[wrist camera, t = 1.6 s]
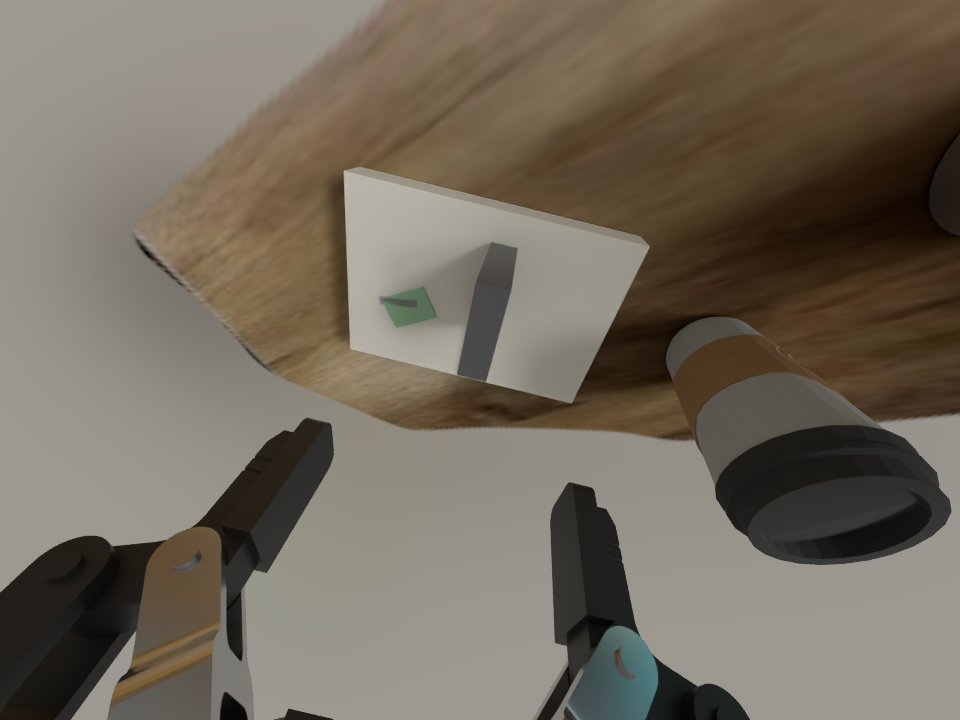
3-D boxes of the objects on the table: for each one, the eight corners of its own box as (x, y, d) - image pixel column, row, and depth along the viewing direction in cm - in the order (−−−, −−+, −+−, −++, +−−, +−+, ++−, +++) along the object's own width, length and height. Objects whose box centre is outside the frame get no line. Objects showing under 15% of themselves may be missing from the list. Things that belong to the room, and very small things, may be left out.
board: (640, 236, 23) (650, 247, 21) (569, 385, 32) (571, 405, 29) (360, 166, 23) (342, 171, 21) (362, 334, 31) (349, 350, 29)
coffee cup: (785, 352, 27) (992, 542, 15) (682, 402, 31) (777, 582, 19) (736, 279, 24) (938, 436, 12) (630, 344, 28) (702, 510, 16)
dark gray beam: (517, 248, 22) (511, 290, 17) (483, 375, 29) (470, 437, 23) (491, 241, 22) (475, 282, 17) (463, 370, 29) (445, 431, 23)
